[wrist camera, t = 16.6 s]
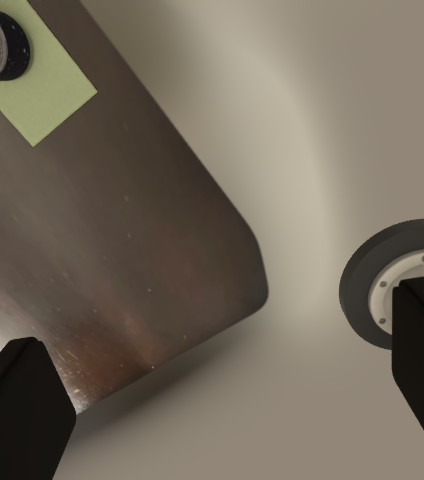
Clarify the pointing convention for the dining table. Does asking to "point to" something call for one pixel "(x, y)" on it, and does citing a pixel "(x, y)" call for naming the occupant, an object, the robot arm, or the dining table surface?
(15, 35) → the beverage can
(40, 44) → the side mat
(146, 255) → the dining table surface
